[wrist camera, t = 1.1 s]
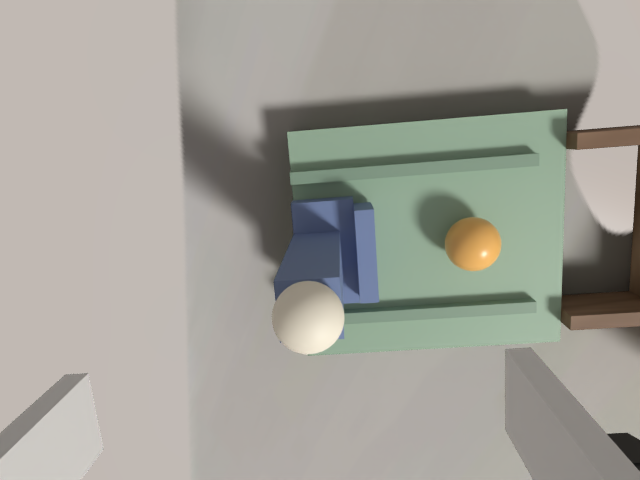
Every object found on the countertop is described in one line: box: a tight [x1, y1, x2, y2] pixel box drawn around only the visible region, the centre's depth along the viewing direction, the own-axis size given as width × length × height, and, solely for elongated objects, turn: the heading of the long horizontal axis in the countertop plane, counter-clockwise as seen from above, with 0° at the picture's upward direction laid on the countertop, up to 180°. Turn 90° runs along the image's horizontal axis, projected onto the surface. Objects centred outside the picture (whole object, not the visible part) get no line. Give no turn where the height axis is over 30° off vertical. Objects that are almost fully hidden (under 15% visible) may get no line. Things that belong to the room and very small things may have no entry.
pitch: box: [287, 109, 567, 356], centre depth 34 cm, size 16×18×3 cm
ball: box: [445, 217, 501, 271], centre depth 32 cm, size 4×4×4 cm
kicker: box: [272, 196, 379, 354], centre depth 27 cm, size 7×5×14 cm
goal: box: [561, 125, 640, 330], centre depth 33 cm, size 13×7×4 cm, turn 5°
